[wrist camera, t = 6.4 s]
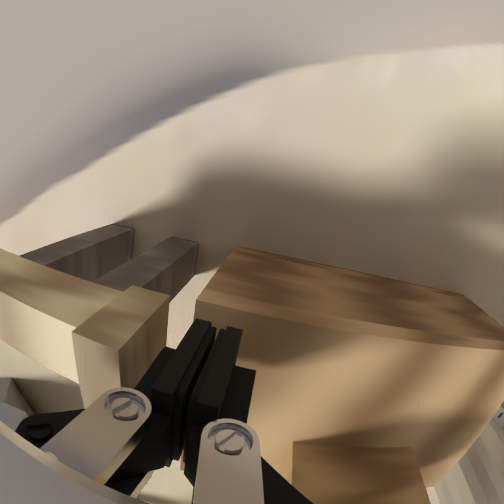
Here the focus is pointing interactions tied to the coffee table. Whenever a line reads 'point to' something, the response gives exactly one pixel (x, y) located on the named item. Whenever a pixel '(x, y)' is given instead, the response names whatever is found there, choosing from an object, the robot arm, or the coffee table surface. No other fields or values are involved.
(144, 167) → the coffee table surface
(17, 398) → the sharpening stone
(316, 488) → the lid
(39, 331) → the pale wooden bar
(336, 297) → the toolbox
